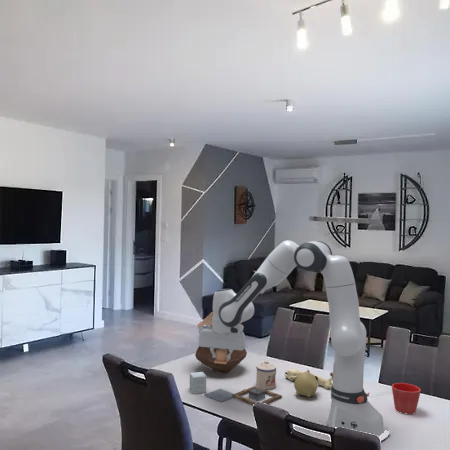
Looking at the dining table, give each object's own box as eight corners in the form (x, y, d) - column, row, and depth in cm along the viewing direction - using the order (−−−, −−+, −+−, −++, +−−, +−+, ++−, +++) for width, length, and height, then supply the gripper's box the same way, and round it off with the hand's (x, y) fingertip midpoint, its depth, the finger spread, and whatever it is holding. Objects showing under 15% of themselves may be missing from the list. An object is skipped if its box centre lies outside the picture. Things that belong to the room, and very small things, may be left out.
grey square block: (265, 397, 200) (265, 390, 200) (257, 401, 197) (258, 393, 196) (256, 394, 204) (256, 387, 204) (248, 397, 200) (248, 390, 200)
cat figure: (338, 389, 216) (289, 373, 230) (340, 371, 216) (291, 356, 230) (329, 396, 208) (280, 379, 222) (332, 377, 208) (282, 361, 222)
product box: (202, 387, 210) (203, 371, 210) (206, 392, 204) (206, 376, 204) (189, 389, 208) (189, 372, 208) (192, 394, 202) (193, 377, 202)
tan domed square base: (225, 364, 198) (226, 352, 198) (214, 363, 199) (214, 351, 199) (228, 360, 203) (229, 348, 203) (217, 359, 204) (217, 347, 204)
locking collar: (281, 398, 200) (281, 394, 200) (259, 407, 189) (259, 404, 189) (254, 388, 211) (254, 385, 211) (232, 397, 200) (232, 393, 200)
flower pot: (396, 403, 198) (397, 380, 198) (423, 410, 191) (424, 387, 191) (387, 410, 190) (387, 387, 190) (414, 418, 183) (415, 394, 183)
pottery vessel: (230, 383, 217) (231, 318, 216) (184, 372, 229) (186, 311, 229) (254, 368, 239) (256, 309, 238) (212, 359, 252) (213, 303, 251)
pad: (236, 396, 201) (237, 394, 201) (220, 402, 194) (220, 401, 194) (220, 389, 208) (220, 388, 208) (204, 395, 201) (204, 394, 201)
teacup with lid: (267, 391, 208) (268, 365, 207) (251, 386, 214) (252, 360, 213) (283, 384, 217) (284, 359, 216) (267, 379, 223) (268, 355, 222)
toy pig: (321, 393, 207) (322, 369, 207) (312, 402, 197) (313, 377, 196) (300, 389, 212) (301, 365, 212) (290, 397, 202) (291, 372, 201)
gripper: (196, 326, 200) (196, 358, 200) (244, 330, 195) (243, 363, 195) (201, 322, 206) (200, 354, 206) (246, 326, 201) (245, 358, 201)
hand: (221, 358), depth 201 cm, fingers closed on tan domed square base, 5 cm apart
